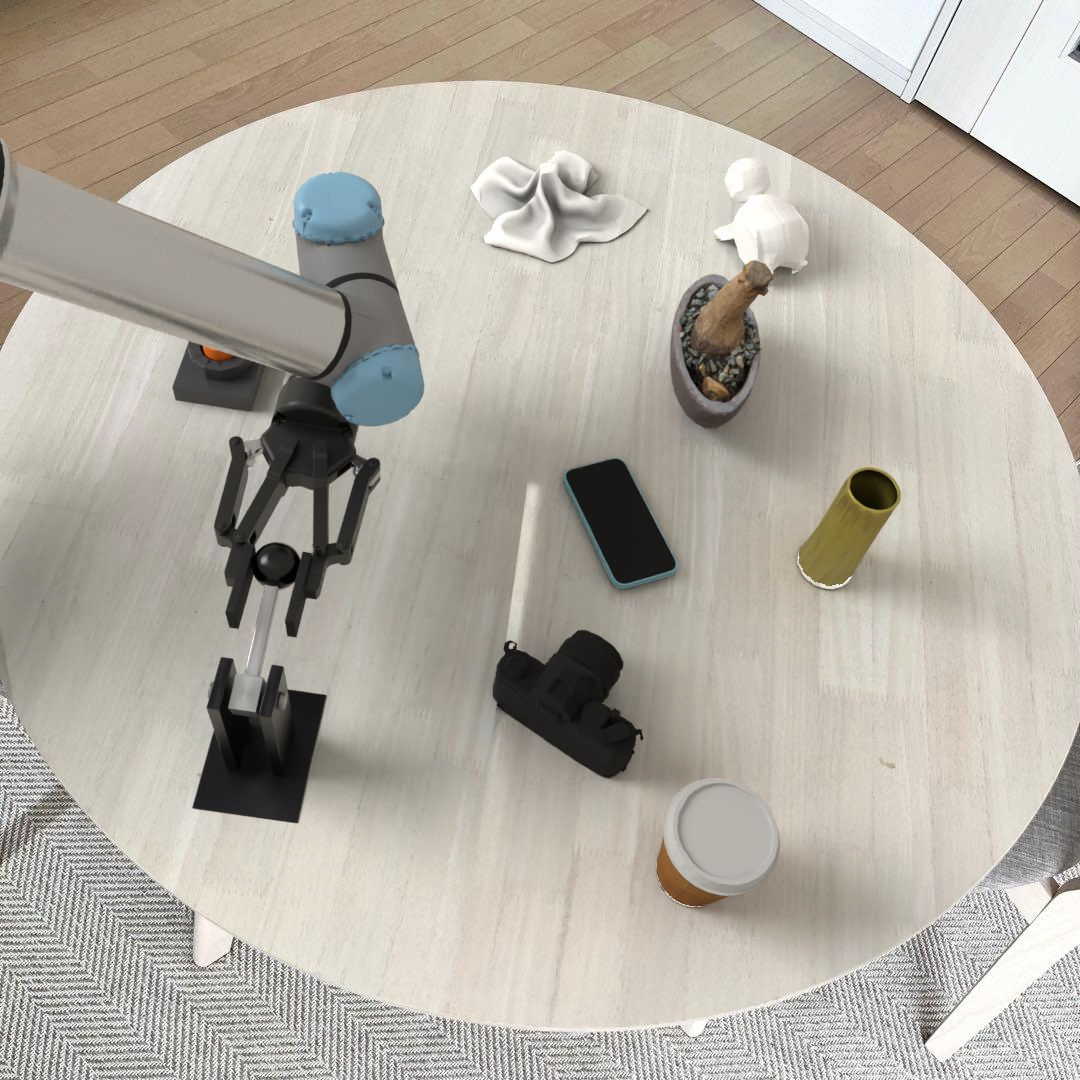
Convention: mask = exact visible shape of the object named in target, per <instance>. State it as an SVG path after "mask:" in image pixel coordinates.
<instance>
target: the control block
mask: <svg viewBox="0 0 1080 1080" xmlns="http://www.w3.org/2000/svg"><path fill="white" fill-rule="evenodd" d="M265 367H266V365H263V364H260V363H256V362H253V361H250V360H247V359H244V358H241V357H238V356H234V357H232V358H231V359H229V360H226V361H215V360H212V359H210V358H209V357H207V356H206V355H205V353H204V350H203V345H200V344H197V343H193V342H190V341H188V343H187V345H186V348H185V350H184V353H183V356H182V359H181V362H180V365H179V368H178V370H177V373H176V377H175V378H174V381H173V383H172V387H171V388H172V391H173V397H174V400H175V401H178V402H179V401H180V402H184V403H190V404H191V403H192V404H198V405H205V406H212V407H215V408H216V407H218V408H223V409H231V410H236V411H242V412H248V413H251V412H252V409H253V407H254V404H255V400H256V397H257V394H258V390H259V387H260V383H261V380H262V377H263V374H264V371H265Z"/></svg>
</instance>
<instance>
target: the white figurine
mask: <svg viewBox="0 0 1080 1080" xmlns="http://www.w3.org/2000/svg"><path fill="white" fill-rule="evenodd" d="M724 185H725V189H726V191H727V192H728V194H729V197H730V200H731V202H732V203H736V204H742V205H741V206H740V208H739V209H738V211H737V212H736V214H735V215H734V219H733V221H732V222H729V224H725V225H722V226H720V227H718V228H716V229H714V231H713V232H714V233H715V234H716V235H717V236H718V238H720V239H721V240H720V241H724V242H725V241H730V240H734V243H735V246H736V248H737V252H738V257H739V259H740V260H741V262H742V263H743V264H744V265H746V264H747V263H749V262H750V261H753V260H757V261H759V262H762V263H764V264H766V265H767V267H768V268H769V269H770V271H771V273H772V275H773V276H774V271H775V270H776V269H777V268H779V267H780V268H781V267H783V268H791V271H792V270H793V271H794V272H795V271H799V270H800V271H802V270H803V268H804V267H805V266H807V265H808V263H809V262H808V261H807V260H806V259H805V258H806V257H807V256H808V253H809V245H810V244H809V243H810V242H809V241H810V229H809V225H808V224H807V222H806V220H805V219H804V217H802V215H801V214H799V212H798V211H797V210H796V208H795V206H794V205H793V204H791V203H790V202H789V201H787V200H786V199H785V198H784V197H783V196H780V195H775V194H770V193H766V192H767V191H768V189H769V187H770V185H771V180H770V173H769V170H768V167H767V164H766V163H765V162H764V161H763V160H762V159H759V158H757V157H756V158H755V157H744V158H743V157H742V158H740V159H738V160H736V161H734V162H733V163H732V164H731V165H730V166H729V168H728V169H727V171H726V174H725V177H724ZM714 233H713V234H714ZM800 271H799V272H800Z"/></svg>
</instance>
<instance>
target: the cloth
mask: <svg viewBox="0 0 1080 1080" xmlns="http://www.w3.org/2000/svg"><path fill="white" fill-rule="evenodd" d="M597 179H598V175H597V173H595V171H594V168H593V165H592V163H591V162H590V161H589V160H588V159H587V158H586V157H584V156H581V155H579V154H577V153H575V152H573V151H570V150H568V149H561V150H556V151H555V152H554V155H553V156H552V157H551V159H549V160H548V161H547V162H543V163H540V164H539V166H538V168H537V169H536V170H534V169H533V168H532V167H531V166H529V165H528V164H526V163H525V162H523V161H521V160H520V159H516V158H513V157H511V156H502V157H499V158H498V159H497V160H495V161H494V162H491V164H490V165H488V166H487V167H486V168H485V169H484V170H483V171H482V172H481V174H480V175H479V177H478V178H477V179H476V181H475V182H474V183H473V184H471V185H470V190H471V192H472V194H473V195H474V197H475V199H476V200H477V202H478V204H479V205H480V207H481V208H482V209H483V210H484V213H486V214H487V215H488V216H489V218H491V220H493V224H492V227H491V230H490V231H488V233H487V234H485V235H484V236H483V241H484V243H485V244H486V245H491V246H495V247H498V248H503V249H507V250H511V251H514V252H518V253H523V254H525V255H527V256H531V257H535V258H538V259H541V260H544V261H545V262H548V263H555V262H558V261H562V260H564V259H566V258H568V257H570V256H571V255H572V254H573V253H575V251H576V249H577V247H578V245H579V244H580V243H581V242H582V243H583V242H590V243H592V242H593V243H607V242H610V240H611V241H613V240H615V239H617V238H619V237H618V235H619V233H618V232H620V230H621V228H620V227H621V226H620V225H619V226H618V225H617V224H616V223H618V222H617V221H616V220H618V218H620V216H621V213H623V211H624V208H625V210H626V209H627V206H628V204H629V203H628V202H627V201H628V200H627V199H628V198H629V197H628V198H627V199H626V200H625V199H624V197H623V196H624V195H623V196H622V194H619V195H618V194H610V193H602V194H596V195H592V196H589V195H588V194H587V192H588V191H589V190H590V189H591V187H592V186H593V185H594V184H595V183H596V181H597ZM593 183H594V184H593ZM592 184H593V185H592ZM588 189H589V190H588ZM624 200H625V201H626V202H625V201H624ZM628 207H629V206H628ZM618 221H619V220H618ZM621 221H622V220H621ZM612 222H613V223H612ZM622 222H623V221H622ZM621 224H622V223H621ZM622 225H623V224H622ZM616 226H617V227H616ZM620 233H621V232H620ZM616 237H617V238H616ZM614 238H615V239H614ZM612 239H613V240H612Z"/></svg>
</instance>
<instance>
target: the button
mask: <svg viewBox="0 0 1080 1080" xmlns="http://www.w3.org/2000/svg"><path fill="white" fill-rule="evenodd" d="M203 350H204V353H205V355H206V356H207V357H209V358H210V359H212V360H215V361H226V360H229V359H231V358H232V357H234V355H231V354H228V353H225V352H222V351H219V350H215V349H212V348H209V347H206V346H203Z"/></svg>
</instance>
